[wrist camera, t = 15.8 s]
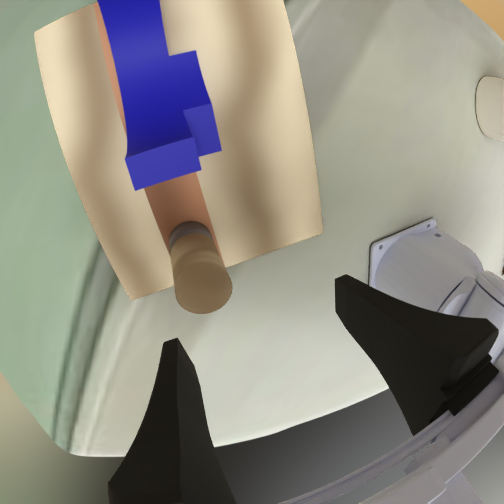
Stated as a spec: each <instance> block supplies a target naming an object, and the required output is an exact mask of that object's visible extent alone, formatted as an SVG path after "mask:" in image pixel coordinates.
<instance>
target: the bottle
mask: <svg viewBox="0 0 504 504" xmlns="http://www.w3.org/2000/svg"><path fill="white" fill-rule="evenodd" d="M476 115H477V120H478V123H479V126H480V129H481V130H482V132H483V133H484V134H485V135H486V136H488V137H490V138H493V139H496V140H499V141H501V142H504V79H500V78H495V77H489V76H485V77H483V78H482V79H481V80H480V82H479V84H478V87H477V91H476Z"/></svg>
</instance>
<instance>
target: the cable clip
mask: <svg viewBox="0 0 504 504" xmlns="http://www.w3.org/2000/svg"><path fill="white" fill-rule="evenodd" d="M97 1H98V4H99V7H100V10H101V13H102V17H103V20H104V24H105V27H106V31H107V35H108V39H109V43H110V47H111V51H112V55H113V59H114V64H115V68H116V73H117V77H118V82H119V87H120V92H121V98H122V103H123V109H124V116H125V123H126V132H127V153H126V157H125V162H126V165H127V168H128V171H129V175H130V178H131V181H132V184H133V187H134V190H135V191H137V190H140V189H143V188H146V187H149V186H152V185H155V184H158V183H161V182H164V181H167V180H170V179H174V178H177V177H180V176H183V175H187V174H190V173H194V172H197V171H200V170H202V169H201V165H200V161H199V157H201V156H204V155H208V154H212V153H215V152H219V151H222V148H221V144H220V139H219V135H218V130H217V125H216V121H215V116H214V112H213V107H212V103H211V100H210V98H209V95H208V92H207V89H206V86H205V83H204V80H203V76H202V73H201V69H200V65H199V61H198V57H197V53H196V50H194V51H189V52H185V53H180V54H176V55H172V56H169V53H168V48H167V43H166V38H165V32H164V27H163V21H162V14H161V7H160V0H97Z"/></svg>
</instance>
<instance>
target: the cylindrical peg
mask: <svg viewBox="0 0 504 504" xmlns="http://www.w3.org/2000/svg"><path fill="white" fill-rule="evenodd" d="M169 248H170V257H171V265H172V272H173V280H174V287H175V294H176V299H177V301H178V303H179V304H180V305H181V307H183V308H184V309H185V310H187V311H189V312H192V313H196V314H206V313H210V312H213V311H216V310H218V309H219V308H221V307H222V306H223V305H225V304H226V302H227V301H228V300H229V298H230V296H231V293H232V282H231V280H230V277H229V275H228V273H227V270H226V268H225V266H224V264H223V261H222V259H221V257H220V254H219V252H218V250H217V247H216V245H215V243H214V240H213V238H212V236H211V233H210V231H209V229H208V228H207V227H206V226H205V225H204V224H202V223H200V222H197V221H186V222H183V223H180V224H179V225H177V226H176V227H175V228H174V229H173V230H172V232H171V234H170V237H169Z"/></svg>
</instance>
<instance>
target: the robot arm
mask: <svg viewBox="0 0 504 504" xmlns="http://www.w3.org/2000/svg"><path fill="white" fill-rule="evenodd" d="M379 246H380V247H379ZM335 309H336V313H337V315H338V316H339V318H340V320H341V321H342V323H343V324H344V326H345V328H346V329H347V330H348V332H349V333H350V334H351V335H352V337H353V338H354V339H355V340H356V342H357V343H358V344H359V345H360V346H361V348H362V349H363V350H364V351H365V353H366V354H367V355H368V356H369V357H370V359H371V360H372V361H373V363H374V364H375V365H376V367H377V368H378V370H379V371H380V373H381V375H382V376H383V378H384V379H385V381H386V383H387V384H388V386H389V388H390V390H391V391H392V393H393V395H394V396H395V399H396V401H397V403H398V404H399V406H400V408H401V410H402V412H403V415H404V416H405V419H406V421H407V423H408V425H409V428H410V430H411V433H412V434H413V437H412V438H410V439H409V440H407V441H406V442H404V443H403V444H401V445H400V446H398V447H397V448H395V449H393V450H392V451H390V452H388V453H387V454H385V455H384V456H382V457H380V458H378V459H377V460H375V461H373V462H371V463H370V464H368V465H366V466H364V467H362V468H360V469H359V470H357V471H355V472H353V473H351V474H349V475H347V476H345V477H343V478H341V479H339V480H336V481H334V482H332V483H330V484H328V485H325V486H323V487H321V488H319V489H316V490H314V491H311V492H309V493H306V494H304V495H301V496H298V497H296V498H293V499H290V500H287V501H284V502H281V503H279V504H323V503H326V502H328V501H330V500H333V499H335V498H337V497H339V496H341V495H343V494H346V493H347V492H350V491H352V490H354V489H356V488H358V487H360V486H361V485H363V484H365V483H367V482H369V481H370V480H372V479H374V478H376V477H378V476H380V475H381V474H383V473H385V472H386V471H388V470H390V469H391V468H393V467H395V466H396V465H398V464H399V463H401V462H402V461H404V460H405V459H407V458H408V457H410V456H411V455H413V454H414V453H416V452H417V451H419V450H420V449H421V448H423V447H424V446H425V445H427V444H428V443H430V442H431V441H432V443H431V445H430V446H429V447H428V448H426V449H425V450H424V451H422V452H421V453H420V454H418V455H417V456H416V457H415V458H414V459H413V460H412V461H411V462H410V463H409V464H408V465H406V466H405V467H404V468H403V470H404V471H405V473H406V474H407V476H405V477H404V478H402V479H401V480H399V481H398V482H396V483H395V484H393V485H391V486H389V487H388V488H386V489H384V490H382V491H381V492H379V493H377V494H375V495H374V496H372V497H370V498H368V499H366V500H364V501H363V502H361V503H358V504H483V503H482V501H481V500H480V498H479V497H478V495H477V494H476V492H475V491H474V489H473V488H472V486H471V485H470V483H469V482H468V480H467V479H466V478H465V476H464V475H463V473H462V472H461V470H462V469H463V468H464V467H465V466H466V465H467V464H468V463H469V462H470V461H471V460H472V459H473V458H474V457H475V456H476V455H477V454H478V453H479V452H480V451H481V450H482V449H483V448H484V447H485V446H486V445H487V444H488V442H489V441H490V440H491V439H492V438H493V437H494V436H495V434H496V433H497V432H498V431H499V429H501V427H502V426H503V425H504V280H503V279H502V278H500V277H498V276H497V275H495V274H494V273H492V272H490V271H484V270H483V266H482V264H481V262H480V260H479V258H478V257H477V255H476V254H475V253H474V252H473V251H472V250H471V249H469V248H468V247H466V246H465V245H463V244H462V243H460V242H459V241H457V240H456V239H454V238H453V237H451V236H449V235H448V234H446V233H445V232H443V231H441V230H440V229H438V228H437V227H436V219H434V218H431V219H429V220H427V221H425V222H422V223H420V224H418V225H415V226H413V227H411V228H409V229H406V230H404V231H402V232H399V233H397V234H395V235H392V236H390V237H387V238H385V239H383V240H380V241H378V242H375V243H374V244H373V245H372V246H371V259H370V280H369V285H367V284H365V283H363V282H361V281H359V280H357V279H355V278H353V277H351V276H349V275H347V274H346V275H343V276H341V277H338V278H336V279H335ZM108 496H109V503H110V504H237V503H236V501H235V498H234V496H233V494H232V493H231V490H230V488H229V486H228V483H227V481H226V478H225V476H224V473H223V471H222V468H221V466H220V463H219V461H218V458H217V455H216V453H215V449H214V446H213V443H212V440H211V437H210V433H209V429H208V425H207V420H206V415H205V409H204V404H203V399H202V393H201V388H200V384H199V380H198V377H197V373H196V370H195V367H194V364H193V363H192V361H191V360H190V358H189V356H188V355H187V353H186V351H185V350H184V348H183V346H182V345H181V343H180V341H179V339H178V338H175V339H172V340H169V341H166V342H164V344H163V347H162V353H161V358H160V363H159V367H158V372H157V376H156V380H155V384H154V388H153V391H152V395H151V398H150V401H149V405H148V407H147V410H146V413H145V416H144V419H143V421H142V424H141V426H140V428H139V431H138V433H137V435H136V437H135V439H134V441H133V443H132V445H131V447H130V449H129V451H128V453H127V454H126V456H125V458H124V460H123V462H122V463H121V465H120V467H119V468H118V469H117V471H116V472H115V474H114V475H113V477H112V478H111V480H110V481H109V482H108Z"/></svg>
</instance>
